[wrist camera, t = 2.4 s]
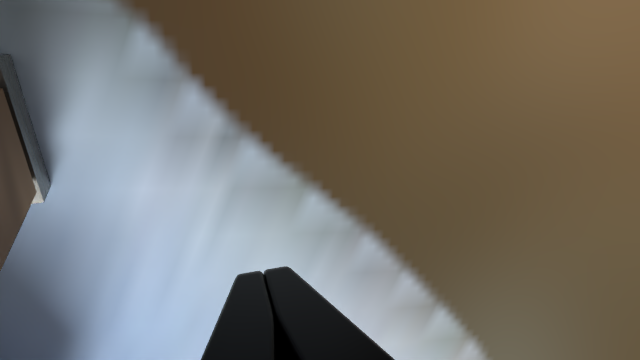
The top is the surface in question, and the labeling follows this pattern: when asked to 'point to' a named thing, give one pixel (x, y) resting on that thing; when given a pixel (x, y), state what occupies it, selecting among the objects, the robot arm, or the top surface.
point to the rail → (24, 128)
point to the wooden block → (12, 181)
